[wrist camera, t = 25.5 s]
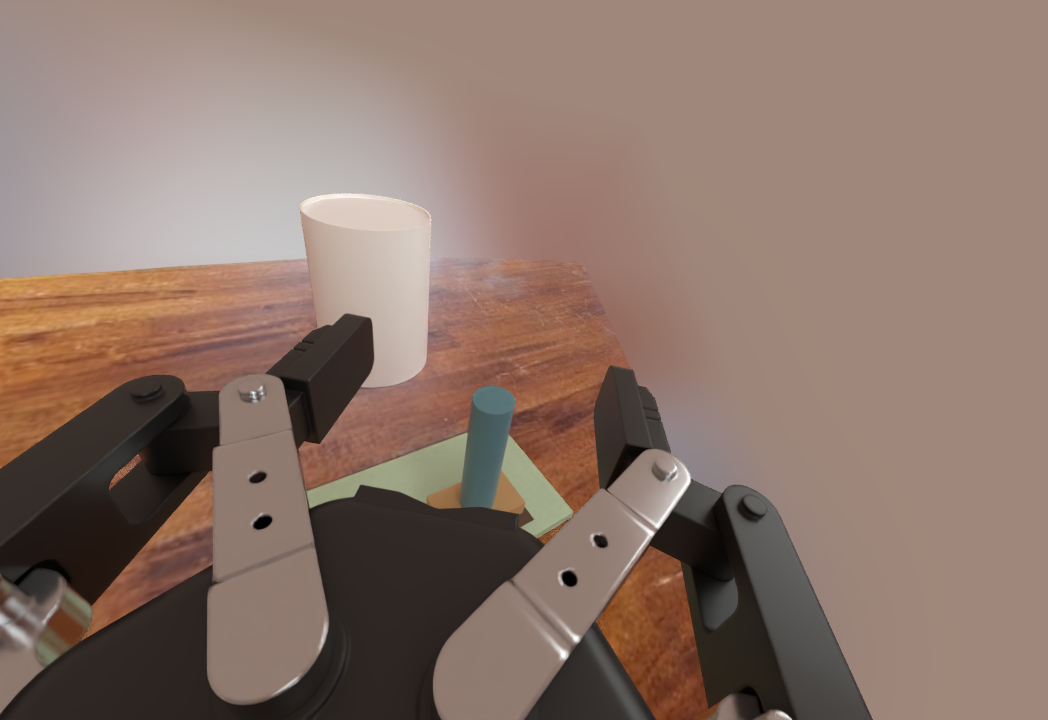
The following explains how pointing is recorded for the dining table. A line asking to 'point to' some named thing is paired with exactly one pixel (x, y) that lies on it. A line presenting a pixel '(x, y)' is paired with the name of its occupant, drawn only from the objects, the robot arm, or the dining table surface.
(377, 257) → the canister
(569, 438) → the dining table surface
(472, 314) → the dining table surface
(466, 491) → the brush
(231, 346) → the dining table surface
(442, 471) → the board
